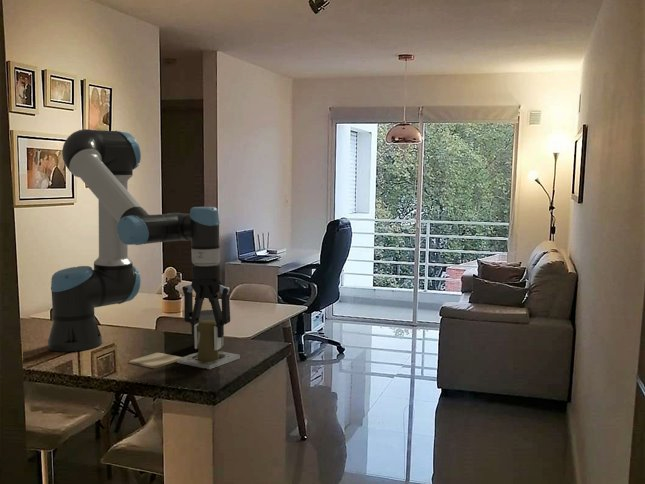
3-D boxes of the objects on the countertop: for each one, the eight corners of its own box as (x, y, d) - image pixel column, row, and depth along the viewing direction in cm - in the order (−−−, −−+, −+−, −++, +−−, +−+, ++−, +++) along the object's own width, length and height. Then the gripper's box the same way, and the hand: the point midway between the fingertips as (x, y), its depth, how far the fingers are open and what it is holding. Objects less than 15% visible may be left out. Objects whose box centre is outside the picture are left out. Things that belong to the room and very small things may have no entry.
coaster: (129, 362, 170) (129, 360, 170) (157, 354, 179) (157, 352, 178) (154, 368, 165) (154, 366, 165) (182, 359, 173) (182, 357, 173)
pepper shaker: (213, 363, 168) (212, 323, 167) (193, 362, 170) (192, 322, 169) (223, 357, 174) (222, 318, 173) (203, 356, 176) (202, 317, 175)
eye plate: (177, 362, 170) (176, 359, 170) (207, 352, 180) (207, 348, 180) (209, 369, 164) (209, 365, 163) (239, 358, 174) (239, 354, 173)
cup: (217, 349, 183) (216, 316, 182) (190, 348, 184) (189, 315, 184) (227, 342, 191) (226, 310, 190) (202, 341, 193) (201, 309, 192)
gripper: (168, 264, 168) (171, 349, 171) (230, 266, 163) (232, 354, 165) (182, 261, 175) (184, 342, 178) (242, 263, 170) (244, 347, 173)
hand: (208, 348), depth 172 cm, fingers closed on pepper shaker, 5 cm apart
